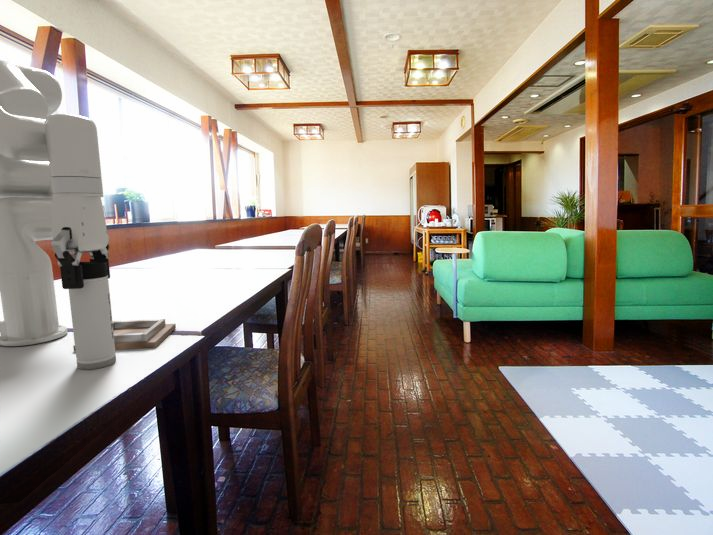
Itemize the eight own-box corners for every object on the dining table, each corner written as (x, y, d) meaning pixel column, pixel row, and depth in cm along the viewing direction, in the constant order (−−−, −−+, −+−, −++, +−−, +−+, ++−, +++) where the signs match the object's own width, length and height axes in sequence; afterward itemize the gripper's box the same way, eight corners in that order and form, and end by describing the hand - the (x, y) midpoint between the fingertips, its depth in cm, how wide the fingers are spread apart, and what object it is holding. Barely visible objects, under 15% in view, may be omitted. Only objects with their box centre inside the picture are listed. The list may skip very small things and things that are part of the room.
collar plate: (73, 351, 85) (72, 338, 84) (106, 331, 98) (104, 320, 98) (155, 347, 87) (154, 335, 86) (175, 328, 100) (175, 317, 100)
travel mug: (67, 368, 76) (55, 260, 73) (101, 355, 82) (90, 256, 79) (90, 372, 74) (79, 262, 71) (123, 360, 80) (114, 257, 77)
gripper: (81, 191, 81) (90, 276, 83) (22, 186, 64) (35, 293, 66) (121, 190, 82) (129, 275, 84) (74, 186, 65) (85, 292, 67)
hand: (88, 283), depth 75 cm, fingers open, 9 cm apart
